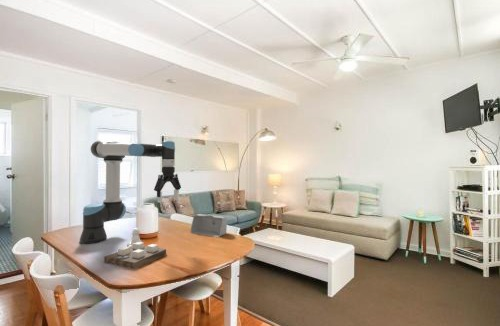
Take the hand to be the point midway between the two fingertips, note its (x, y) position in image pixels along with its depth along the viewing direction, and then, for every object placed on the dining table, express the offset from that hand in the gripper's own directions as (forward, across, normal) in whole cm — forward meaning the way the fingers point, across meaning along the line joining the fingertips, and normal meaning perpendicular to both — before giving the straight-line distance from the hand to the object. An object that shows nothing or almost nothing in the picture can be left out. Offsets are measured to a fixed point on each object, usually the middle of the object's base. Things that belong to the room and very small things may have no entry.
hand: (168, 201), depth 167 cm
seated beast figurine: (+27, -13, +14) cm, 33 cm away
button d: (+25, -18, -6) cm, 31 cm away
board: (+27, -25, -2) cm, 37 cm away
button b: (+25, -28, -7) cm, 38 cm away
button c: (+25, -19, +3) cm, 31 cm away
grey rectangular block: (+28, +39, -4) cm, 48 cm away
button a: (+25, -29, +3) cm, 38 cm away
